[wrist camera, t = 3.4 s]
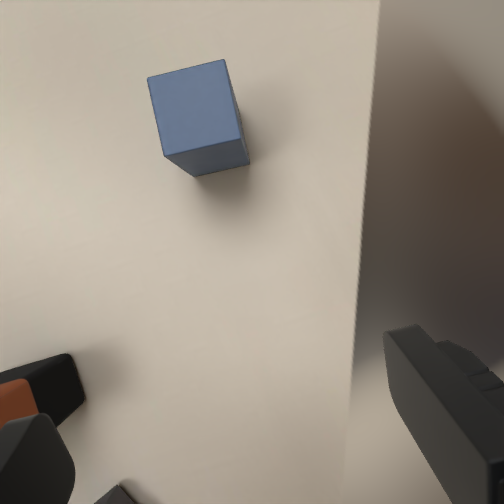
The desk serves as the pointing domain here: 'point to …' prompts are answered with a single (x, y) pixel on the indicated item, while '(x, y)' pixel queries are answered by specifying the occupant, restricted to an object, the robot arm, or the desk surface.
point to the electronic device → (115, 497)
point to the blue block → (199, 118)
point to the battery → (40, 390)
